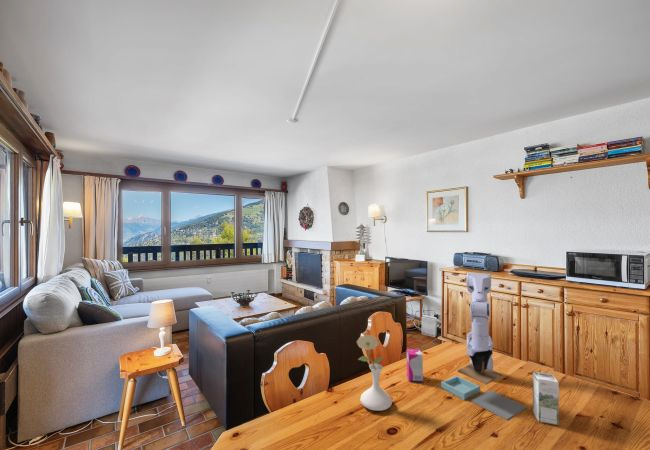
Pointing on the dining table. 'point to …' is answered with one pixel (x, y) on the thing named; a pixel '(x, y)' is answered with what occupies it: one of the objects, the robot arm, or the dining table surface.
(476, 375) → the lid
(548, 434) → the dining table surface
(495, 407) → the mat
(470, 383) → the dish
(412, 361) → the supplement box
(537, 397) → the syrup box
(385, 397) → the flower in vase
